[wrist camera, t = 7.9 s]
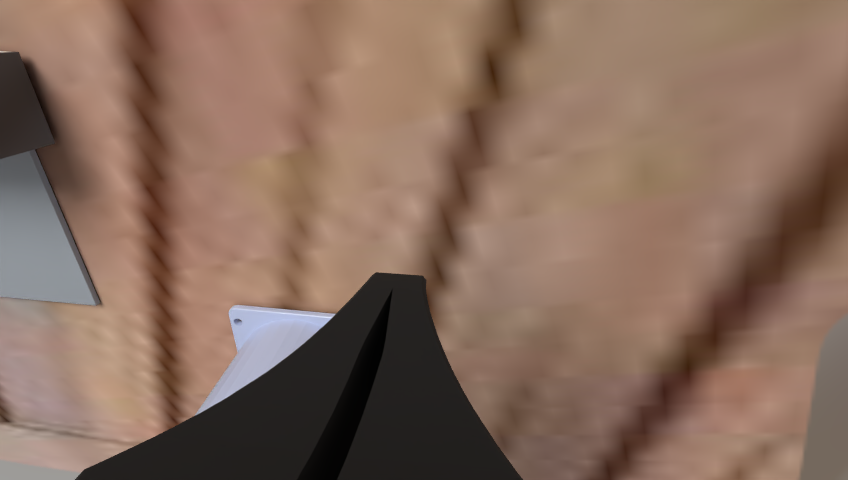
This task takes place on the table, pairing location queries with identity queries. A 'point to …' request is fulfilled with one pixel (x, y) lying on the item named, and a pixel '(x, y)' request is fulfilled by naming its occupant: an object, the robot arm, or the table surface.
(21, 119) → the birch block
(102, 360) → the table surface
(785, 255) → the table surface
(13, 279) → the mat
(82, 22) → the table surface
